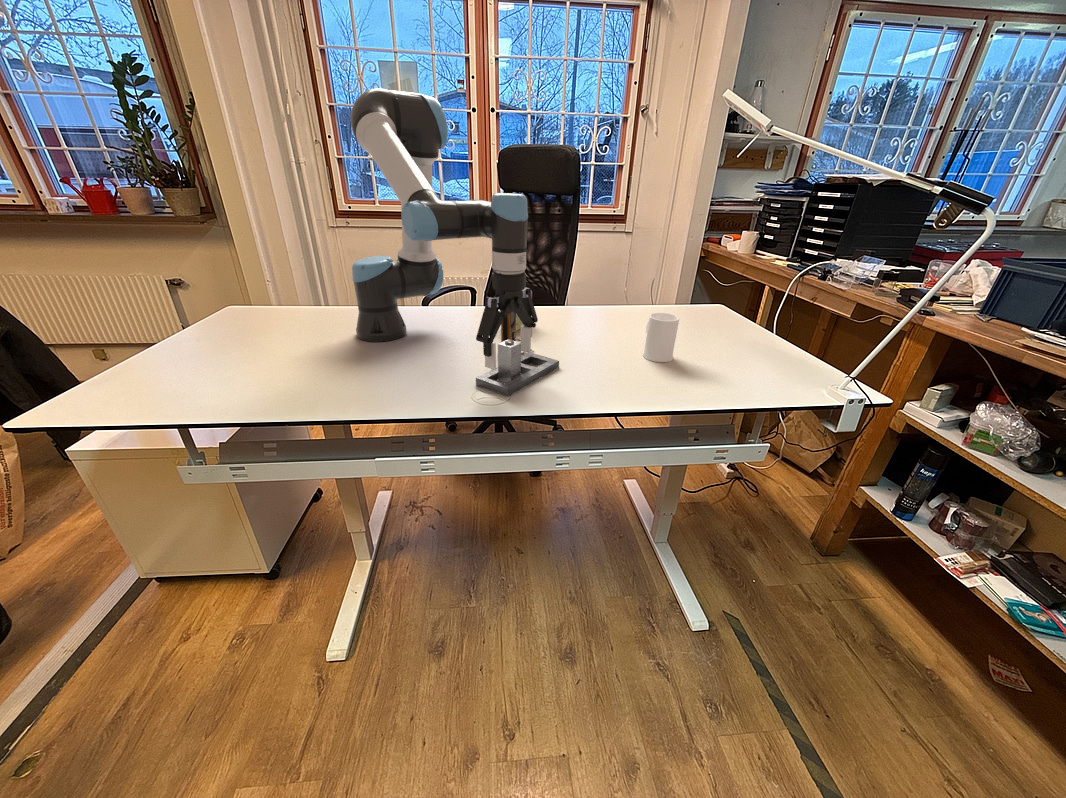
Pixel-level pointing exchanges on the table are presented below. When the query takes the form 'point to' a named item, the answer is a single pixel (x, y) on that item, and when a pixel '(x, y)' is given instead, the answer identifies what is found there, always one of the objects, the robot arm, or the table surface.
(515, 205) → the robot arm
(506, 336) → the multimeter
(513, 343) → the grey tall block
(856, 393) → the table surface
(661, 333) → the mug
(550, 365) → the grey flat frame
